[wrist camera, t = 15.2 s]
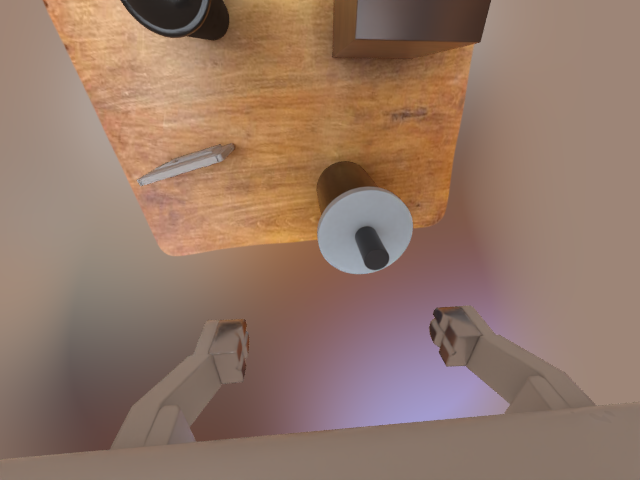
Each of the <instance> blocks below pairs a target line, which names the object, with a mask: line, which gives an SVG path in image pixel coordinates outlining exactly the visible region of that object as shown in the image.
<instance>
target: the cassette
mask: <svg viewBox="0 0 640 480" xmlns="http://www.w3.org/2000/svg"><path fill="white" fill-rule="evenodd" d="M234 149H235V148H234V145H233V144H232V143H231V144H228V145H225V146H221V145H216V146H213V147H210V148H207V149H204V150H200V151H197V152H194V153H191V154H188V155H184V156H181V157H178V158H175V159H172V160H171V161H170V162H167V163H165V164H163V165H161V166H159V167H157V168H156V169H154V170H153V171H151V172H149V173H148V174H146V175H144V176H142V177H141V178H139V179H137V181H138V183H139V184H140V186H143V185H146V184H150V183H153V182H156V181H160V180H163V179H166V178H169V177H174V176H177V175H179V174H182V173H185V172H189V171H192V170H195V169H198V168H202V167H207V166H210V165H212V164H215V163H218V162H221V161H223V160H224V159H225V158H226V157H227V156H228V155H229V154H230V153H231V152H232V151H233V150H234Z"/></svg>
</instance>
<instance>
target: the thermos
mask: <svg viewBox="0 0 640 480" xmlns="http://www.w3.org/2000/svg"><path fill="white" fill-rule="evenodd" d="M360 187H378V186H377V185H376V184H375V183H374V181H373V180H372V179H371V178H370V176H369V175H368V174H367V173H366V171H365V170H364V169H363V168H362V167H361V166H359V165H357V164H356V163H353V162H347V161H344V162H337V163H335V164H332V165H331V166H329V167H328V168H326V169H325V170H324V171H323V173H322V174H321V175H320V177H319V180H318V183H317V196H318V201H319V206H320V211H321V215H322V214H323V212H324V210H325V209H326V207H327V206H328V205H329V204H330V203H331V202H332V201H333V200H334V199H335V198H337V197H338V196H340V195H341V194H343V193H345V192H347V191H349V190H352V189H355V188H360ZM378 188H379V187H378Z"/></svg>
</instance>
